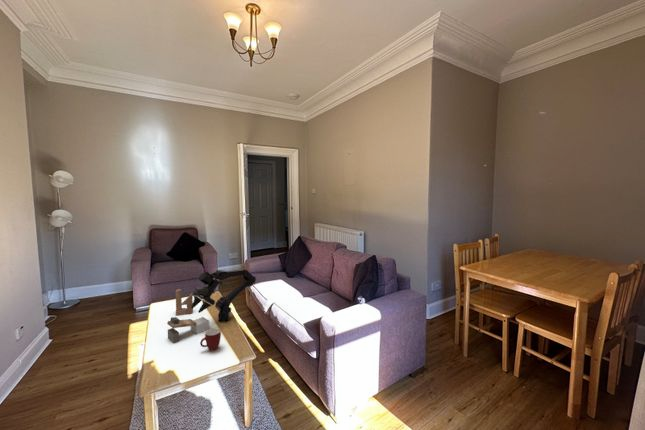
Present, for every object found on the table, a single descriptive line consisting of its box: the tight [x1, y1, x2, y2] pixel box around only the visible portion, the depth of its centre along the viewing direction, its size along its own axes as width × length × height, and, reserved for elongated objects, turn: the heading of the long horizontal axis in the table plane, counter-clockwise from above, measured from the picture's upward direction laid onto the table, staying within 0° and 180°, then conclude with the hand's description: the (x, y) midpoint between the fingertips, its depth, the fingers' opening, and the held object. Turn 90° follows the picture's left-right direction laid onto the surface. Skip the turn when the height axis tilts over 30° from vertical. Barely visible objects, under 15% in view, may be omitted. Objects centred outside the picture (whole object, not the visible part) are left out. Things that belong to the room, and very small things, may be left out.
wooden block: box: [175, 288, 194, 317], centre depth 192 cm, size 4×11×18 cm, turn 111°
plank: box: [166, 316, 197, 329], centre depth 162 cm, size 14×8×4 cm, turn 141°
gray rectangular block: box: [167, 316, 210, 344], centre depth 165 cm, size 22×8×6 cm, turn 141°
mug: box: [199, 327, 222, 352], centre depth 148 cm, size 10×8×10 cm
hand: (195, 310), depth 168 cm, fingers open, 9 cm apart
